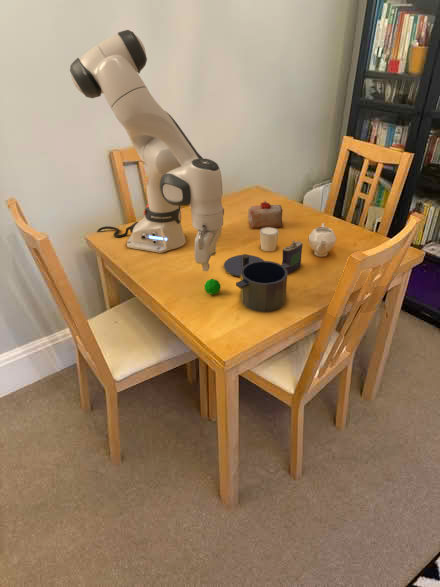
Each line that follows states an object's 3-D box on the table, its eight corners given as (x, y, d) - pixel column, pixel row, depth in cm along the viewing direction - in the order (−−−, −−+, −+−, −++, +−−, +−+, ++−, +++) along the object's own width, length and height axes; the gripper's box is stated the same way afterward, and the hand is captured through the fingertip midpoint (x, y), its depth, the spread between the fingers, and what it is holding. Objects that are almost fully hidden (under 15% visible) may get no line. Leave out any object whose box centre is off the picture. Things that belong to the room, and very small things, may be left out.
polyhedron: (210, 299, 129) (210, 286, 126) (201, 292, 132) (201, 279, 130) (223, 293, 131) (223, 280, 129) (214, 287, 135) (214, 274, 132)
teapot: (334, 242, 159) (337, 219, 154) (334, 268, 143) (337, 243, 138) (308, 240, 161) (310, 217, 156) (305, 265, 145) (308, 241, 140)
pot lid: (215, 265, 146) (215, 254, 144) (248, 253, 153) (248, 242, 151) (241, 283, 136) (241, 271, 134) (275, 269, 143) (275, 257, 141)
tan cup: (276, 252, 153) (277, 235, 149) (258, 251, 154) (258, 234, 150) (278, 244, 159) (279, 227, 155) (260, 243, 160) (260, 226, 156)
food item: (249, 230, 170) (249, 207, 165) (247, 222, 177) (247, 199, 171) (282, 229, 170) (284, 205, 165) (280, 221, 177) (281, 198, 171)
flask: (296, 263, 146) (298, 235, 140) (303, 266, 145) (306, 238, 139) (279, 273, 141) (281, 244, 135) (286, 276, 139) (288, 247, 133)
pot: (224, 299, 129) (224, 272, 123) (271, 279, 138) (273, 254, 132) (252, 320, 119) (253, 292, 114) (301, 298, 128) (304, 271, 123)
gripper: (210, 235, 109) (212, 281, 116) (225, 206, 126) (225, 247, 133) (187, 234, 110) (190, 279, 118) (204, 205, 127) (206, 246, 134)
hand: (209, 262), depth 126 cm, fingers open, 8 cm apart
